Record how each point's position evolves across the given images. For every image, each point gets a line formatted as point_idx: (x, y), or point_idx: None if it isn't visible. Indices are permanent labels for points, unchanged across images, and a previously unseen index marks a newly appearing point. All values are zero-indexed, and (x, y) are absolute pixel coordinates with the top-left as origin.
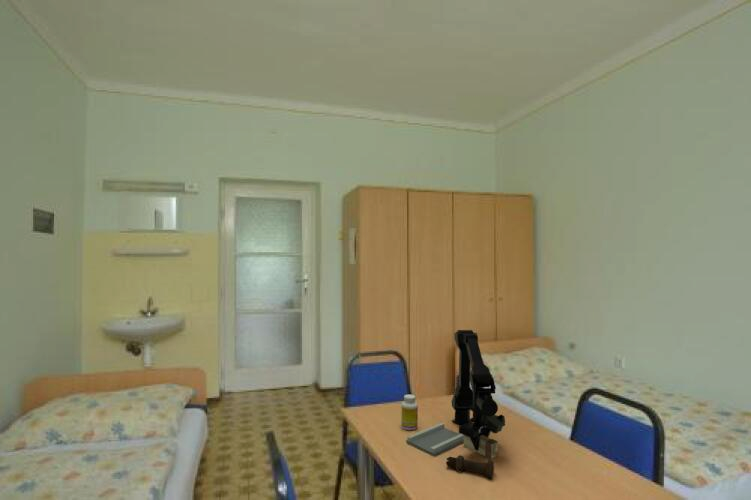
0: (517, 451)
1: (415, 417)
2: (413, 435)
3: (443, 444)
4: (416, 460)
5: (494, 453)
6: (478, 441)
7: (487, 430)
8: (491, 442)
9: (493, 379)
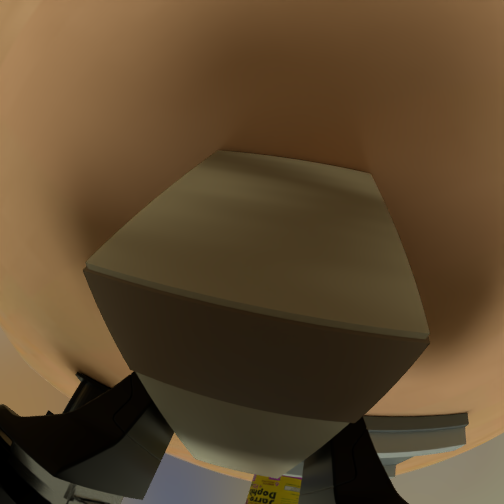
0: (34, 86)
1: (276, 499)
2: None
3: (407, 452)
4: (498, 417)
5: (292, 176)
6: (354, 442)
7: (106, 467)
8: (292, 367)
9: None
